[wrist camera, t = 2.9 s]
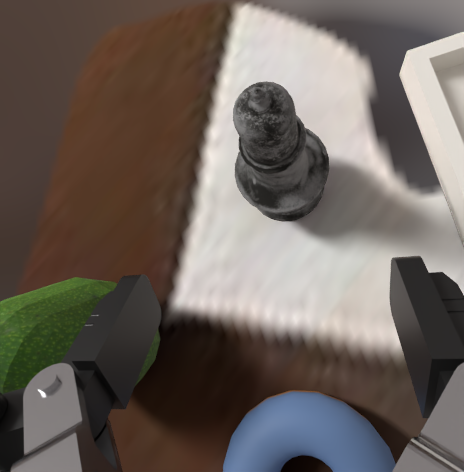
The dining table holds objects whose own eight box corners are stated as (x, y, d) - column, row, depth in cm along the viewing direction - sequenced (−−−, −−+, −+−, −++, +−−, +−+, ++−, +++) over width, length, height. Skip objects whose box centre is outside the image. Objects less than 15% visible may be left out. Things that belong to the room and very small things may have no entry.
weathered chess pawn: (321, 139, 26) (319, 6, 14) (335, 217, 24) (344, 141, 13) (241, 155, 27) (181, 45, 15) (250, 231, 26) (192, 172, 14)
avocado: (103, 270, 28) (-48, 246, 17) (192, 303, 26) (87, 302, 14) (66, 369, 27) (-119, 417, 16) (154, 413, 25) (11, 505, 14)
